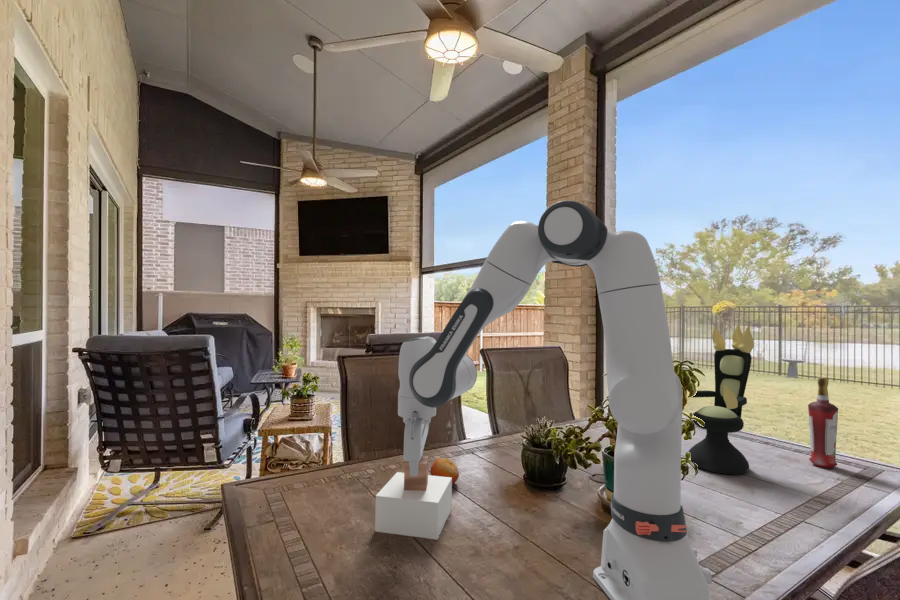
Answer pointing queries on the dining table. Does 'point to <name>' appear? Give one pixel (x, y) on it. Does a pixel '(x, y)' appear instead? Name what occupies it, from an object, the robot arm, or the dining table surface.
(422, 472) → the terracotta block
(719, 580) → the dining table surface
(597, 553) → the dining table surface
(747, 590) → the dining table surface
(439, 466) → the fruit
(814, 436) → the liquor
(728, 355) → the crowned throne chair
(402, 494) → the cream box
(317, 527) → the dining table surface
